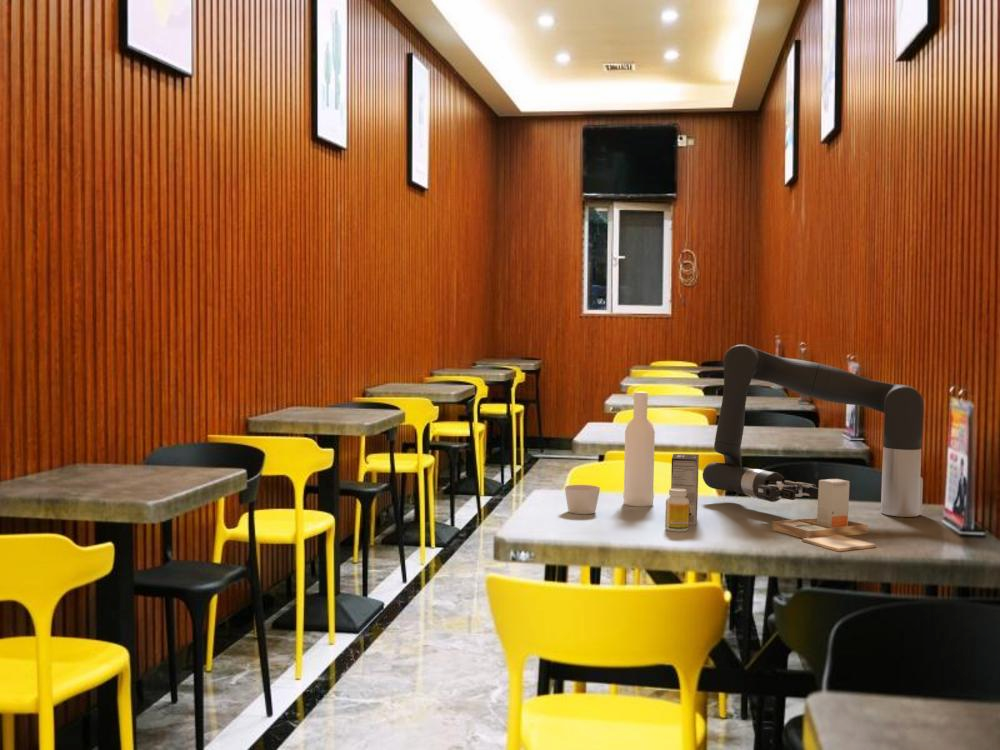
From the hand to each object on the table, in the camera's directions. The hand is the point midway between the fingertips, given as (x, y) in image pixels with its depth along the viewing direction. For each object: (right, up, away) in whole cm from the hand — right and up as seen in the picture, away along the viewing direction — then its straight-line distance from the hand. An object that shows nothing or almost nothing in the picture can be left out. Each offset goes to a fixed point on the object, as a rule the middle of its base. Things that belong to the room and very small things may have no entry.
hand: (807, 494), depth 251 cm
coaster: (0, -8, -22) cm, 24 cm away
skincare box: (+4, -8, -7) cm, 11 cm away
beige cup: (-54, -6, +12) cm, 56 cm away
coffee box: (-30, -7, +2) cm, 31 cm away
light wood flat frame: (0, -8, -9) cm, 12 cm away
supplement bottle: (-33, -7, -9) cm, 35 cm away
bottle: (-38, -6, +24) cm, 46 cm away
